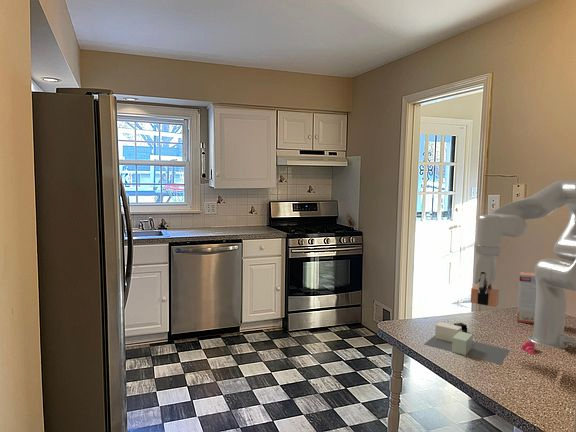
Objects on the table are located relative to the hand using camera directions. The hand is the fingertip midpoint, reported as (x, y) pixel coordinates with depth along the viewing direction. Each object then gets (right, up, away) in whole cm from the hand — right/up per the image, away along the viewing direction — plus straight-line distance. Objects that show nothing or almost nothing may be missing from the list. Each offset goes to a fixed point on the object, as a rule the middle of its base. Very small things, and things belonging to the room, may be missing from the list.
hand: (484, 302), depth 145 cm
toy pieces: (+15, -19, -3) cm, 24 cm away
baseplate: (-5, -17, +2) cm, 18 cm away
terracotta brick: (0, 0, 0) cm, 0 cm away
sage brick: (-8, -17, 0) cm, 18 cm away
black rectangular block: (-1, -17, +17) cm, 24 cm away
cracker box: (+37, -16, +32) cm, 51 cm away
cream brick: (-9, -16, +10) cm, 20 cm away
